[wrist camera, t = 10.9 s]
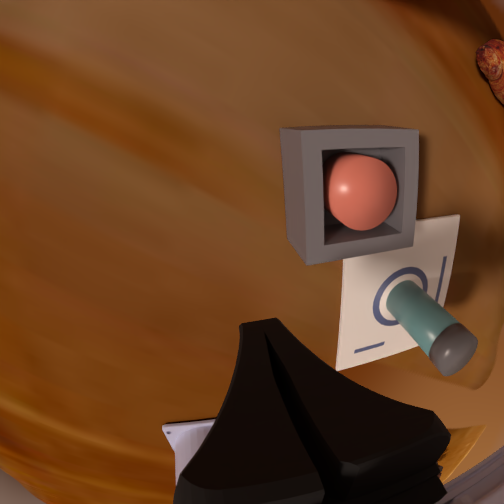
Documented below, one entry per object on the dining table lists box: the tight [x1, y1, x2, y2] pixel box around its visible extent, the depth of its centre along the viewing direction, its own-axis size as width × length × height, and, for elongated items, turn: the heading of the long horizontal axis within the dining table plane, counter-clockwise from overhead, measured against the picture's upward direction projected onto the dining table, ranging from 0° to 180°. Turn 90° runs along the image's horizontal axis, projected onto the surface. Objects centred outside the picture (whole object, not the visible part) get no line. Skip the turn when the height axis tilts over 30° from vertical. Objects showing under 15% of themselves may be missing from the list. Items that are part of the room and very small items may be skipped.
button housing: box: [280, 125, 419, 265], centre depth 18 cm, size 7×7×4 cm
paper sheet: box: [336, 214, 460, 371], centre depth 24 cm, size 13×11×1 cm
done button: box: [322, 152, 397, 231], centre depth 17 cm, size 4×4×2 cm
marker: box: [386, 280, 478, 376], centre depth 20 cm, size 3×3×8 cm
